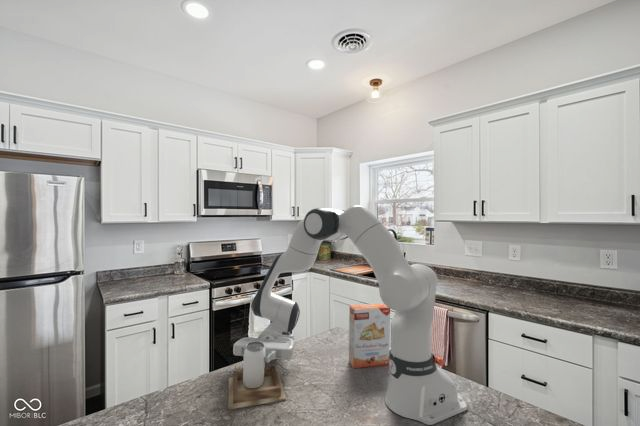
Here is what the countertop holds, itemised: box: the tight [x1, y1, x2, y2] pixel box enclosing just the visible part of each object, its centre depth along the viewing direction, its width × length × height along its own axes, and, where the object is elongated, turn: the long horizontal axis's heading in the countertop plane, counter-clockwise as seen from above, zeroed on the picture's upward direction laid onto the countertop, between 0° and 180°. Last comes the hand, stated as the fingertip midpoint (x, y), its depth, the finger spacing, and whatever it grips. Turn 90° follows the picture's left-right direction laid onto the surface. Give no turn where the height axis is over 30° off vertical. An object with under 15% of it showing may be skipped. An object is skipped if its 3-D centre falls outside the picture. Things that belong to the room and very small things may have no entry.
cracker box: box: [348, 303, 391, 369], centre depth 109 cm, size 14×6×21 cm, turn 104°
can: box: [242, 342, 266, 389], centre depth 93 cm, size 6×6×12 cm
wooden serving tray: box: [227, 365, 287, 410], centre depth 92 cm, size 16×16×3 cm
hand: (255, 359), depth 92 cm, fingers closed on can, 5 cm apart
